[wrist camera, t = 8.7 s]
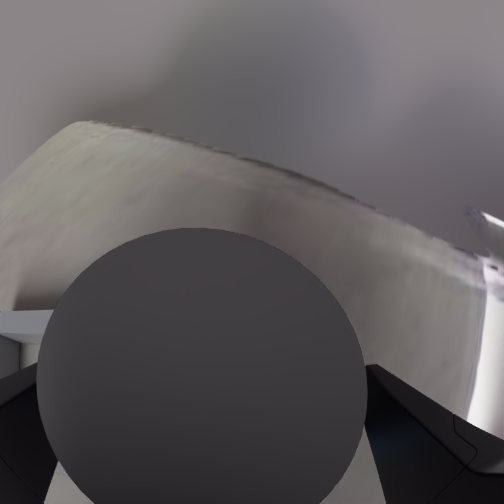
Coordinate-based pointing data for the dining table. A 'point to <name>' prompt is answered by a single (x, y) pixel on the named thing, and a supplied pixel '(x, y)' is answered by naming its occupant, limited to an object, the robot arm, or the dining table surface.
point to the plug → (201, 375)
